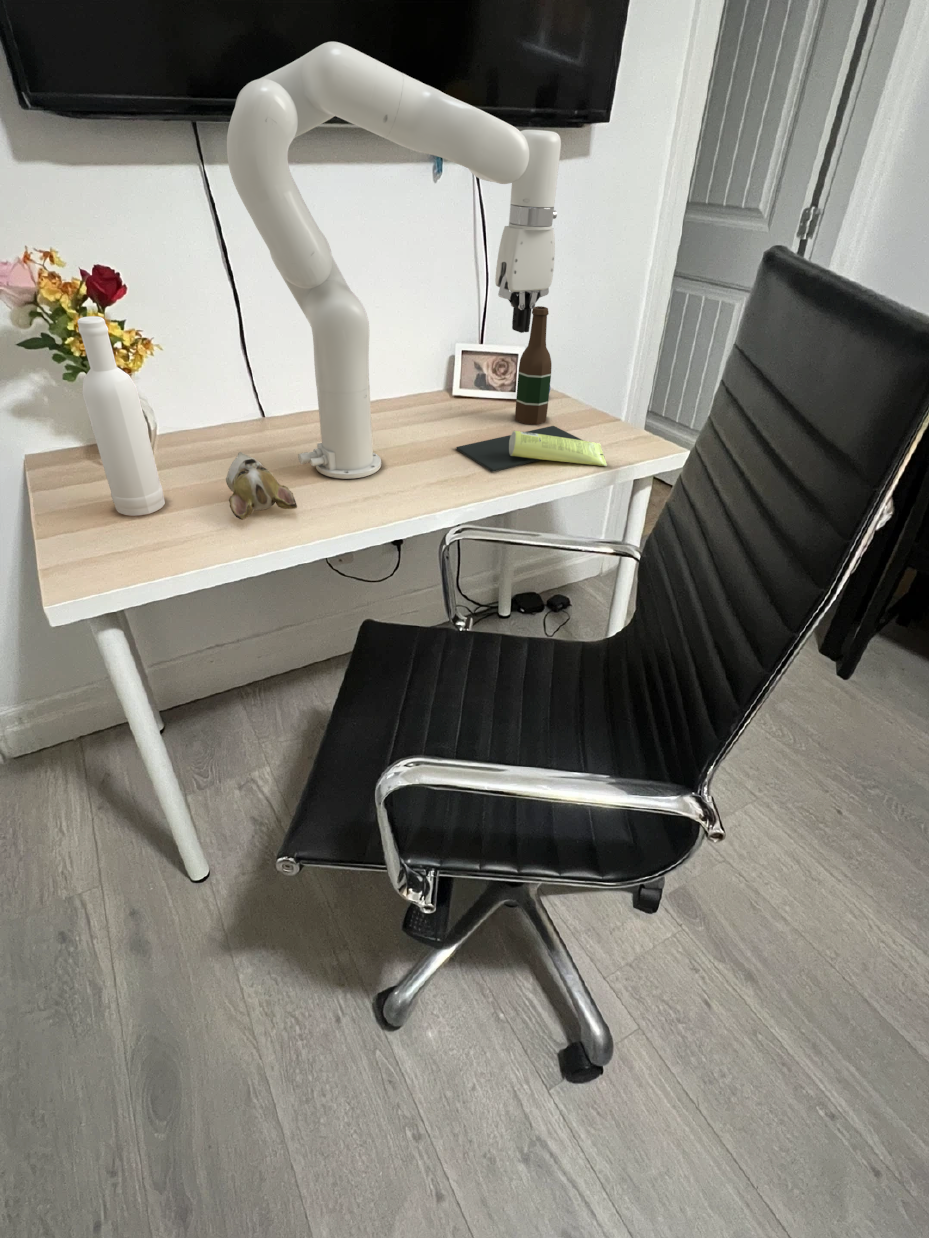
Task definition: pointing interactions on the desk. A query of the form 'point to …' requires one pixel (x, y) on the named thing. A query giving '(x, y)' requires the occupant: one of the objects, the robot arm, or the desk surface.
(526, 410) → the beer bottle
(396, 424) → the desk surface
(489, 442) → the mat
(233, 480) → the ceramic sculpture
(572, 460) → the tube
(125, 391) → the bottle
